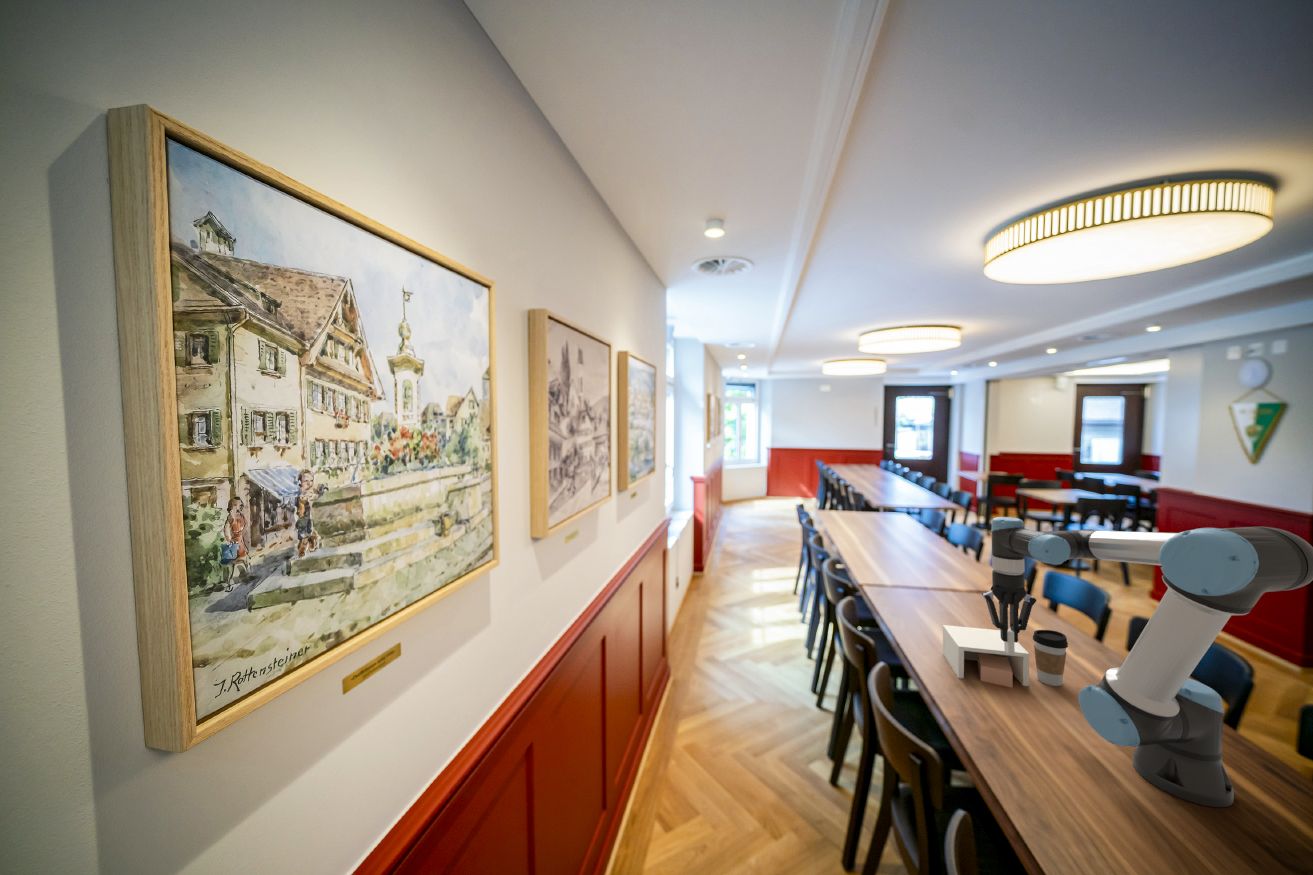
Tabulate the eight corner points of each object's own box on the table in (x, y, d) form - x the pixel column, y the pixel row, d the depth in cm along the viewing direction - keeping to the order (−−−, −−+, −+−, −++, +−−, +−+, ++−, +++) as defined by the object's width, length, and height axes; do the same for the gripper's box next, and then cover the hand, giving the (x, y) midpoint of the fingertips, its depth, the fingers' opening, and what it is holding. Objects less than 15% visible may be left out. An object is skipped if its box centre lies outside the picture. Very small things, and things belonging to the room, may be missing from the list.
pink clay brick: (1012, 688, 143) (1012, 672, 142) (980, 681, 147) (980, 665, 147) (1007, 672, 151) (1007, 657, 151) (977, 666, 155) (977, 651, 155)
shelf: (1028, 686, 143) (1029, 653, 143) (958, 677, 148) (958, 646, 148) (1005, 660, 158) (1006, 630, 158) (942, 653, 164) (942, 624, 163)
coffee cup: (1074, 689, 141) (1074, 640, 140) (1042, 687, 143) (1042, 638, 142) (1056, 674, 149) (1057, 628, 149) (1026, 672, 151) (1026, 626, 150)
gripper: (1028, 568, 137) (1029, 649, 137) (977, 566, 140) (978, 644, 140) (1041, 576, 129) (1042, 661, 130) (987, 573, 133) (988, 655, 133)
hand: (1009, 652), depth 135 cm, fingers closed
